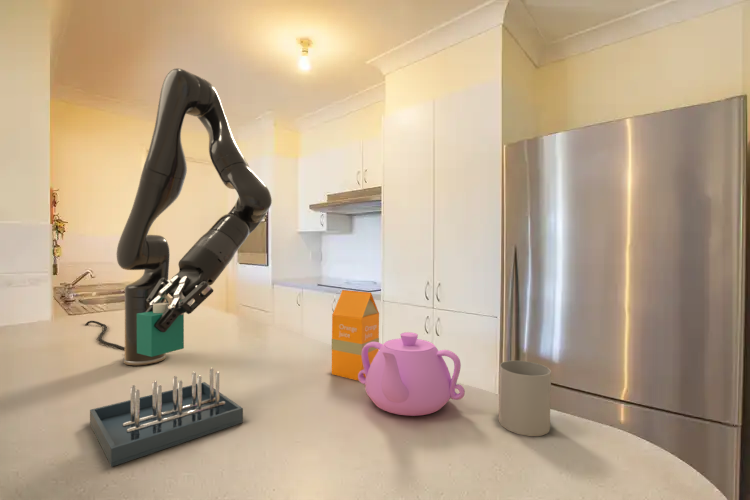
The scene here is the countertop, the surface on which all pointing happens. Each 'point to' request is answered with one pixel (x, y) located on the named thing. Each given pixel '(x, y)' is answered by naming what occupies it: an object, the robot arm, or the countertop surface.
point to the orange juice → (353, 332)
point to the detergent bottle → (158, 333)
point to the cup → (524, 397)
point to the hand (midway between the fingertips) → (150, 327)
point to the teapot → (409, 376)
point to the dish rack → (157, 406)
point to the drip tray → (119, 441)
